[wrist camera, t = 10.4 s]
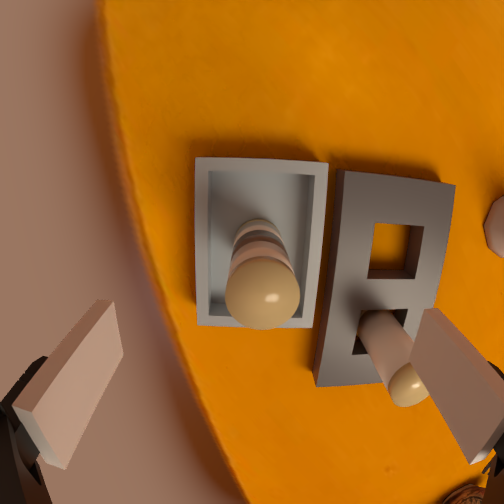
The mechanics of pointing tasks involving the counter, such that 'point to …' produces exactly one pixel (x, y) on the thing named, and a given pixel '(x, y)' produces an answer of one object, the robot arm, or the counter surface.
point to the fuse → (391, 356)
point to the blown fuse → (261, 277)
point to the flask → (496, 228)
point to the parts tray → (252, 207)
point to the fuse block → (374, 280)
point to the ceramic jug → (466, 495)
